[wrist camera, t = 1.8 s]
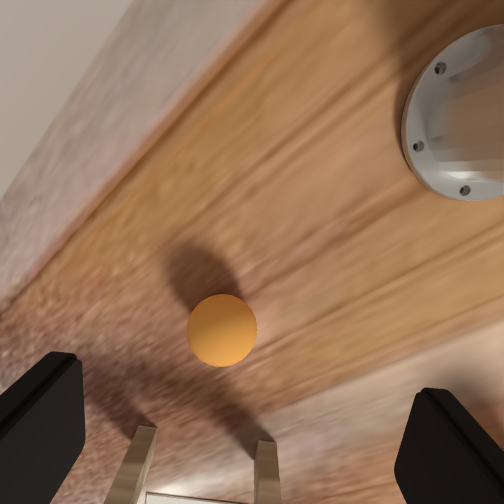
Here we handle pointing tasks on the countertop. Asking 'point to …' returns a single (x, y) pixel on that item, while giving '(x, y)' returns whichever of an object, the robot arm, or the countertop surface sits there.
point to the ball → (221, 330)
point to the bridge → (141, 453)
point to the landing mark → (177, 500)
